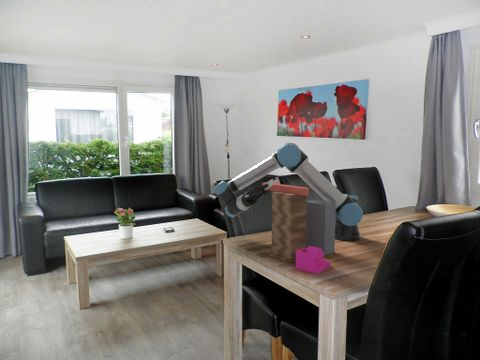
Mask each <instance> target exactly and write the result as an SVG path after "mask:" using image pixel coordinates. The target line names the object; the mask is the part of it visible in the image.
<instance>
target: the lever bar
mask: <svg viewBox="0 0 480 360" xmlns="http://www.w3.org/2000/svg"><path fill="white" fill-rule="evenodd" d="M267 182H268V181H267ZM267 182H266V181H265V182H261V184H262V185H261V186H263V185H264V184H265V183H267ZM274 184H275V183H274ZM264 190H265V189H264ZM267 190H271V192H277V191H278V192H284V193H291V194H298V195H307V196H308V195H309V194H310V192H309V191H310V187H304V186H297V185H290V184H283V183H282V184H281V183H280V184H275V185H273V186H272V187H270V188H269V189H267Z"/></svg>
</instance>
